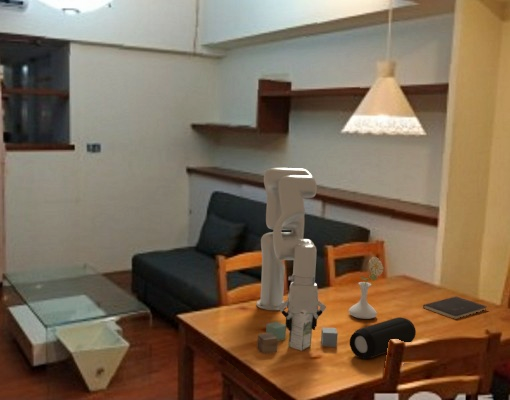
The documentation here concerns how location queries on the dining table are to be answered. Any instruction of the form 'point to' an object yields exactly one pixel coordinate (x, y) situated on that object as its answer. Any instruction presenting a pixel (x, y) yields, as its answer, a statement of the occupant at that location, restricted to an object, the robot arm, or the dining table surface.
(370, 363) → the dining table surface
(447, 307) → the hardcover book
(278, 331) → the sage green cube
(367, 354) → the portable speaker
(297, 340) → the syrup box
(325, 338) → the slate grey cube
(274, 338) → the walnut cube
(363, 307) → the flower in vase
